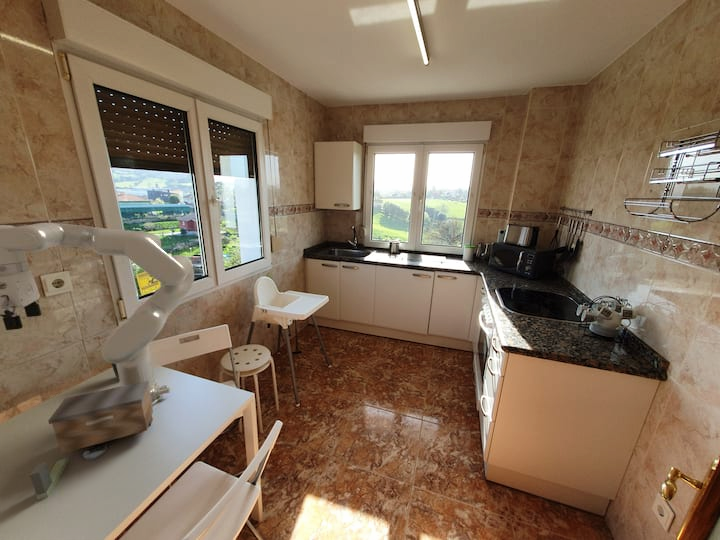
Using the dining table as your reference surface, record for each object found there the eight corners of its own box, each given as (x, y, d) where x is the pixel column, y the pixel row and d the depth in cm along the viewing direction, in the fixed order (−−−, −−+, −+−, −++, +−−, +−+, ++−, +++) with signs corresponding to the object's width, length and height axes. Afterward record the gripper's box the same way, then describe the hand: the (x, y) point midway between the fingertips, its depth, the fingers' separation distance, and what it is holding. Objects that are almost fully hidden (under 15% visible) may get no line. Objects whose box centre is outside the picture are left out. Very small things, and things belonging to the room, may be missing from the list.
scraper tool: (68, 462, 80) (61, 439, 78) (48, 497, 71) (40, 472, 69) (58, 465, 80) (51, 442, 77) (37, 500, 70) (28, 475, 68)
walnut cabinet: (155, 418, 97) (148, 380, 93) (149, 440, 88) (141, 399, 84) (76, 438, 88) (65, 398, 84) (61, 465, 80) (47, 421, 76)
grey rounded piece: (109, 444, 87) (108, 440, 86) (103, 457, 82) (102, 453, 82) (88, 450, 84) (87, 446, 84) (81, 464, 80) (79, 460, 80)
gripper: (7, 274, 75) (25, 332, 79) (43, 261, 90) (56, 310, 94) (-35, 277, 72) (-14, 337, 76) (10, 262, 87) (25, 313, 91)
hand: (25, 322), depth 85 cm, fingers open, 9 cm apart
